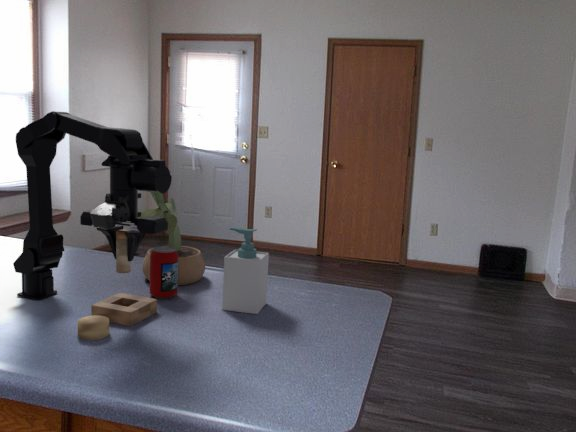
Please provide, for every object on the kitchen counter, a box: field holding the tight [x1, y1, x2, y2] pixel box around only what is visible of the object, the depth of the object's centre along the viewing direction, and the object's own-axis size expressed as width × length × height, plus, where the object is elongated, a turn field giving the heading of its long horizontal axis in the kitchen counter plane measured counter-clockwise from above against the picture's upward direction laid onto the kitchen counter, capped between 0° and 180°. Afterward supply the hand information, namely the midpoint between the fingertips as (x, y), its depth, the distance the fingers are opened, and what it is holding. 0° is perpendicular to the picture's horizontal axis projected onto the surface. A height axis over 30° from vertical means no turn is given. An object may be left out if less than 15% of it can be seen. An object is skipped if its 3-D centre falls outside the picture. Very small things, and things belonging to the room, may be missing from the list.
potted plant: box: [138, 192, 206, 286], centre depth 150 cm, size 22×18×30 cm
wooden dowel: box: [115, 229, 132, 274], centre depth 121 cm, size 3×3×9 cm
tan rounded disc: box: [77, 315, 110, 341], centre depth 113 cm, size 6×6×3 cm
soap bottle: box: [221, 226, 270, 315], centre depth 133 cm, size 9×9×19 cm
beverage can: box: [149, 245, 179, 300], centre depth 138 cm, size 7×7×12 cm
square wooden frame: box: [90, 292, 158, 327], centre depth 124 cm, size 10×10×3 cm
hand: (123, 260), depth 122 cm, fingers closed on wooden dowel, 3 cm apart
